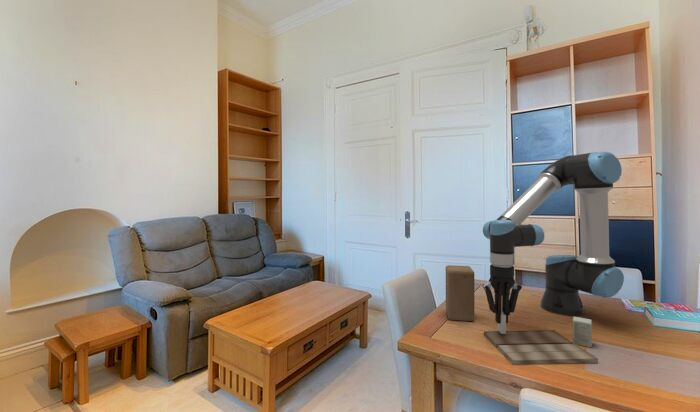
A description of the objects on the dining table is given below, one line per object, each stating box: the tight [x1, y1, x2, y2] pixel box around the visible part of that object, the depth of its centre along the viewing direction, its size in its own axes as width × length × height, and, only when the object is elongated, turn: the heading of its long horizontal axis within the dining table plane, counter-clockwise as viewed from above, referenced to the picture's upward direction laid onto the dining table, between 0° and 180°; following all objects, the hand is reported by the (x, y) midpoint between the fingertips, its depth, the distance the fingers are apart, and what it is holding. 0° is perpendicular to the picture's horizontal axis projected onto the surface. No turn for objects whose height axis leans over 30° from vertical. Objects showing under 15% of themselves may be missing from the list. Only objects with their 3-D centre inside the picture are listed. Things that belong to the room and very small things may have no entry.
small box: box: [572, 316, 593, 348], centre depth 102 cm, size 5×4×8 cm
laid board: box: [497, 343, 599, 365], centre depth 95 cm, size 25×9×1 cm, turn 90°
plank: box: [483, 329, 574, 349], centre depth 105 cm, size 25×9×1 cm, turn 90°
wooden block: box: [445, 264, 475, 322], centre depth 126 cm, size 10×10×20 cm
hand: (501, 332), depth 108 cm, fingers closed
